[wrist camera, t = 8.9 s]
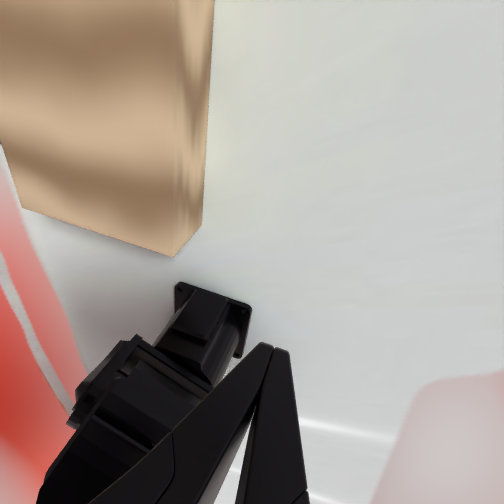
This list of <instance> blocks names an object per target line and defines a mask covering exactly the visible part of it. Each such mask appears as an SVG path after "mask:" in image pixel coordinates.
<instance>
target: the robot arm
mask: <svg viewBox="0 0 504 504" xmlns="http://www.w3.org/2000/svg"><path fill="white" fill-rule="evenodd" d="M245 310H246V311H245ZM251 314H252V308H251V306H250V305H248V304H245V303H242V302H239V301H236V300H233V299H231V298H228V297H225V296H222V295H219V294H216V293H213V292H210V291H207V290H204V289H201V288H198V287H195V286H192V285H189V284H187V283H184V282H178V283H177V284H176V286H175V314H174V316H173V317H172V318H171V320H170V321H169V323H168V324H167V325H166V327H165V328H164V330H163V331H162V332H161V334H160V335H159V337H158V338H157V339H156V341H155V342H154V344H153V345H152V346H151V345H150V344H148V343H147V342H145V341H144V340H142V339H143V338H142V337H140V336H139V335H137V334H136V335H135V336H134V337H133V338H132V339H131V341H122V340H120V341H119V342H118V344H117V345H116V346H115V347H114V348H113V350H112V351H111V352H110V353H109V354H108V356H107V357H106V358H105V359H104V360H103V361H102V362H101V363H100V364H99V365H98V366H97V367H96V368H95V369H94V370H93V371H92V372H91V373H90V374H89V375H88V376H87V377H86V378H85V379H84V381H82V382H81V384H80V385H79V386H78V387H77V388H76V390H75V395H76V404H75V405H74V407H73V409H72V410H73V411H74V412H73V413H72V414H71V416H70V417H69V419H68V421H67V422H66V424H67V425H68V426H70V427H71V428H73V429H76V432H75V433H74V435H73V436H72V437H71V439H70V440H69V441H68V443H67V444H66V446H65V447H64V448H63V450H62V451H61V452H60V454H59V455H58V457H57V458H56V459H55V461H54V462H53V463H52V465H51V466H50V467H49V469H48V471H47V473H46V475H45V478H44V484H43V485H42V486H41V488H40V491H39V494H38V498H37V501H36V504H214V501H215V499H216V497H217V495H218V493H219V490H220V488H221V486H222V484H223V482H224V480H225V477H226V475H227V473H228V471H229V469H230V466H231V464H232V462H233V460H234V458H235V456H236V453H237V451H238V449H239V447H240V445H241V442H242V440H243V438H244V436H245V434H246V432H247V429H248V427H249V425H250V422H251V426H250V430H249V435H248V440H247V445H246V450H245V455H244V460H243V465H242V470H241V475H240V480H239V485H238V490H237V495H236V501H235V504H310V502H309V494H308V491H306V490H307V481H306V473H305V466H304V458H303V451H302V444H301V436H300V429H299V421H298V414H297V407H296V399H295V392H294V384H293V377H292V369H291V362H290V355H289V352H288V351H286V350H283V349H281V348H278V347H276V348H274V347H273V346H272V345H270V344H267V343H264V342H260V343H259V344H258V345H257V346H256V347H255V348H254V349H253V350H252V351H251V352H250V353H249V354H248V355H247V356H246V357H245V358H244V359H243V360H242V361H241V362H240V363H239V364H238V365H237V366H236V367H235V368H234V369H233V370H232V371H231V372H230V373H229V374H228V375H227V376H226V377H225V378H224V379H223V380H222V378H223V376H224V374H225V372H226V369H227V367H228V365H229V363H230V360H231V358H232V357H234V358H238V359H240V358H241V357H242V355H243V353H244V348H245V343H246V338H247V333H248V328H249V324H250V319H251ZM273 350H274V351H273ZM221 380H222V381H221ZM253 414H254V415H253ZM252 417H253V418H252ZM251 419H252V421H251Z"/></svg>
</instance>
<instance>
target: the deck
mask: <svg viewBox="0 0 504 504" xmlns="http://www.w3.org/2000/svg"><path fill="white" fill-rule="evenodd" d="M213 16H214V0H0V141H1V144H2V147H3V150H4V153H5V156H6V160H7V163H8V166H9V169H10V172H11V175H12V178H13V181H14V184H15V188H16V191H17V194H18V197H19V200H20V203H21V206H22V208H25V209H28V210H31V211H34V212H37V213H40V214H43V215H46V216H49V217H52V218H55V219H58V220H61V221H64V222H67V223H71V224H74V225H77V226H80V227H83V228H86V229H89V230H92V231H95V232H98V233H101V234H104V235H107V236H110V237H113V238H116V239H119V240H122V241H125V242H128V243H131V244H134V245H137V246H140V247H143V248H146V249H150V250H153V251H156V252H159V253H162V254H165V255H168V256H171V257H174V256H175V254H176V253H177V252H178V251H179V250H180V249H181V248H182V247H183V246H184V244H185V243H186V242H187V241H188V240H189V239H190V238H191V237H192V235H193V234H194V233H195V232H196V231H197V230H198V229H199V228H200V227H201V225H202V208H203V190H204V173H205V155H206V138H207V121H208V103H209V86H210V69H211V51H212V34H213Z"/></svg>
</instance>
